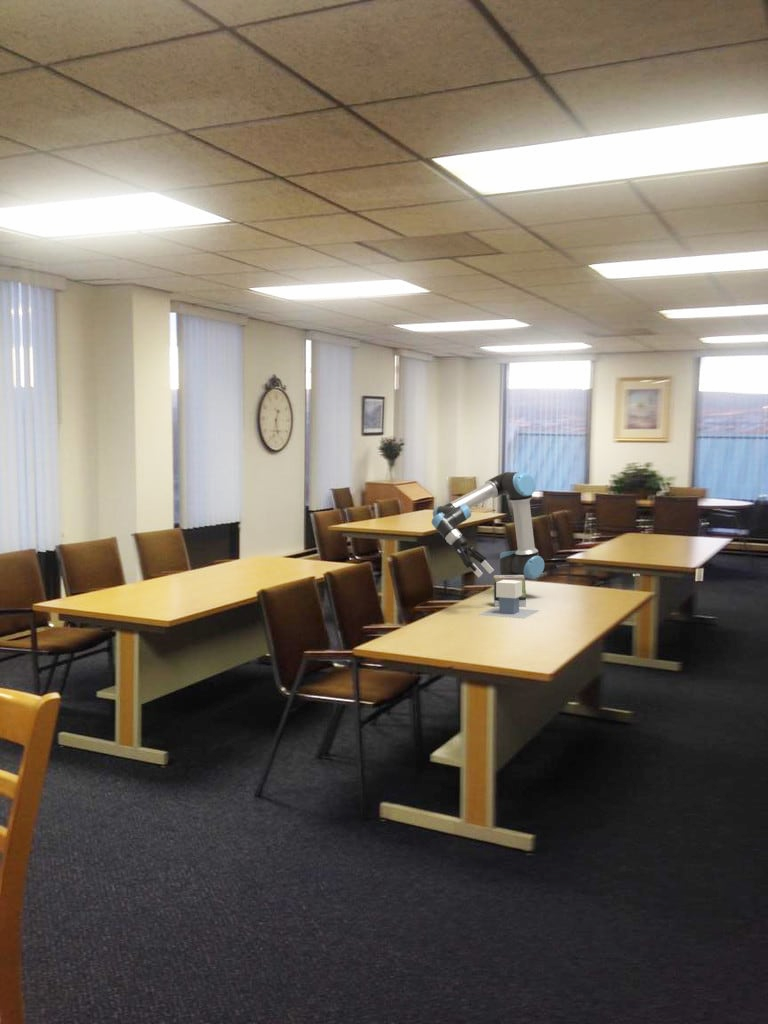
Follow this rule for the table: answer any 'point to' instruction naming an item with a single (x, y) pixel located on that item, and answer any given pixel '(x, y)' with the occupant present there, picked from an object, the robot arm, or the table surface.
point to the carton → (508, 605)
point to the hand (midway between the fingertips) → (486, 573)
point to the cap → (508, 588)
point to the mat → (521, 614)
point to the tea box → (511, 577)
